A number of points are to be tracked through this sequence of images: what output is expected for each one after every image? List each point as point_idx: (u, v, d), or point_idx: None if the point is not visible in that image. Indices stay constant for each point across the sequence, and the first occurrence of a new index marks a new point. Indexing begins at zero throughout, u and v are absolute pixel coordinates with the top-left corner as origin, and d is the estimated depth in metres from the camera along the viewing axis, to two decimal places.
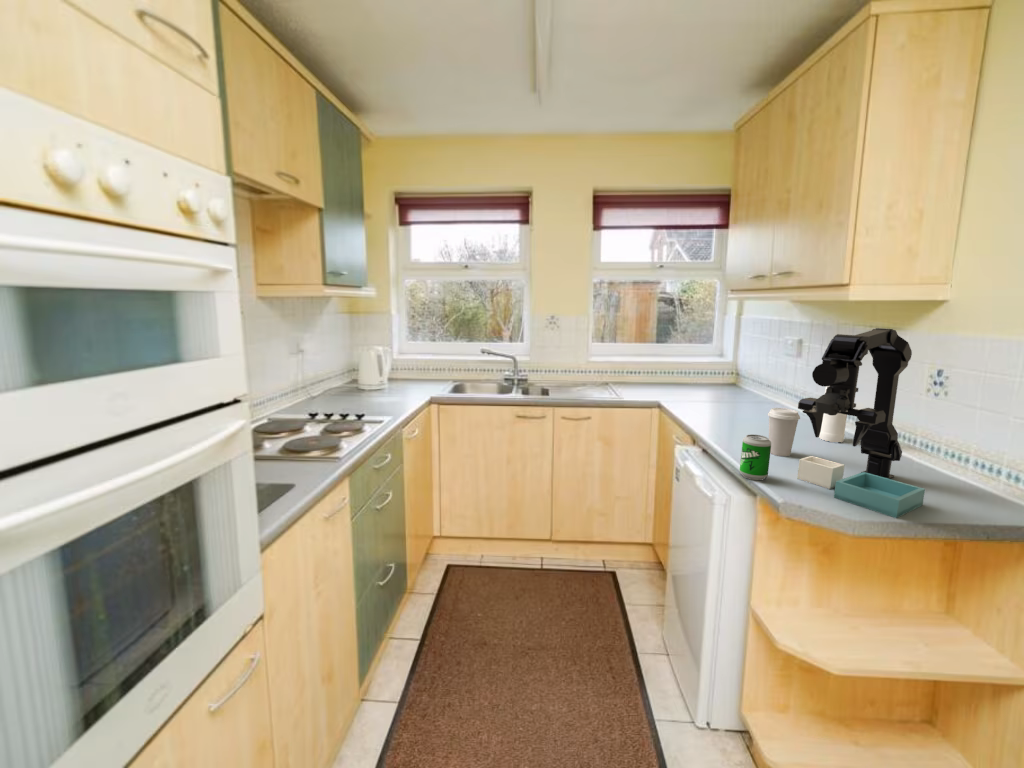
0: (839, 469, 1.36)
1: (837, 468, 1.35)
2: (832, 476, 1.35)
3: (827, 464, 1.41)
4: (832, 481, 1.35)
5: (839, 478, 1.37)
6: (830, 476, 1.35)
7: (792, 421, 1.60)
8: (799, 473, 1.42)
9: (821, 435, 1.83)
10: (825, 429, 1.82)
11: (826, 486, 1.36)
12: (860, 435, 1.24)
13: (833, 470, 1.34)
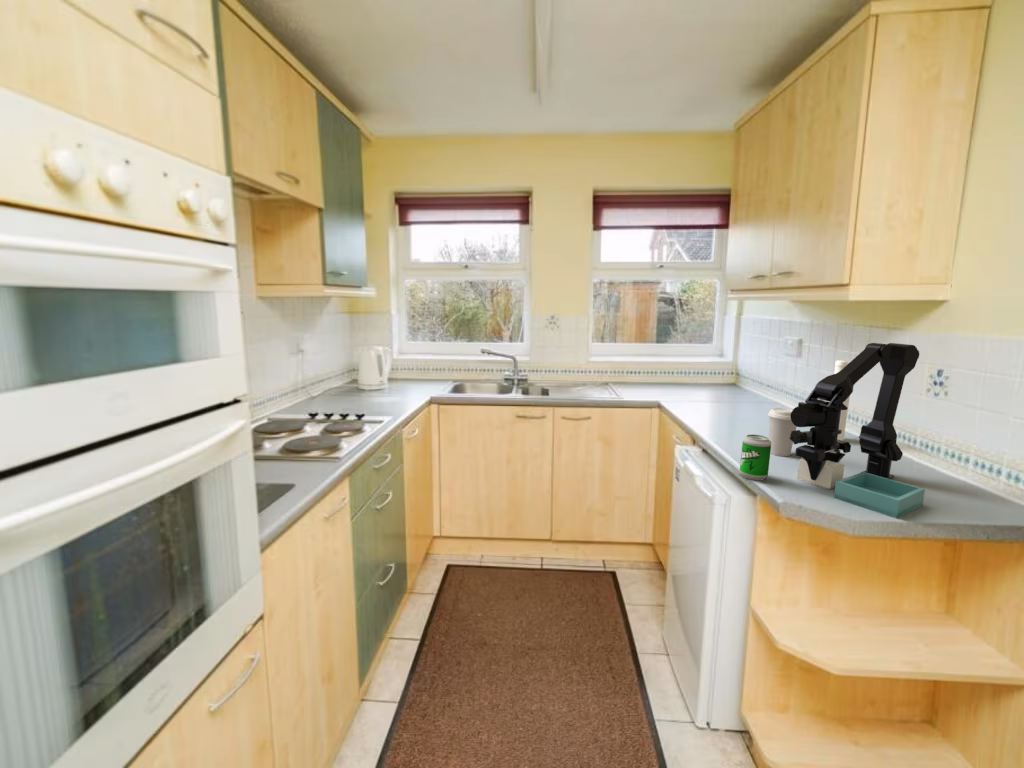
0: (839, 469, 1.36)
1: (837, 468, 1.35)
2: (832, 476, 1.35)
3: (827, 464, 1.41)
4: (832, 481, 1.35)
5: (839, 478, 1.37)
6: (830, 476, 1.35)
7: None
8: (799, 473, 1.42)
9: None
10: None
11: (826, 486, 1.36)
12: (811, 469, 1.38)
13: (833, 470, 1.34)
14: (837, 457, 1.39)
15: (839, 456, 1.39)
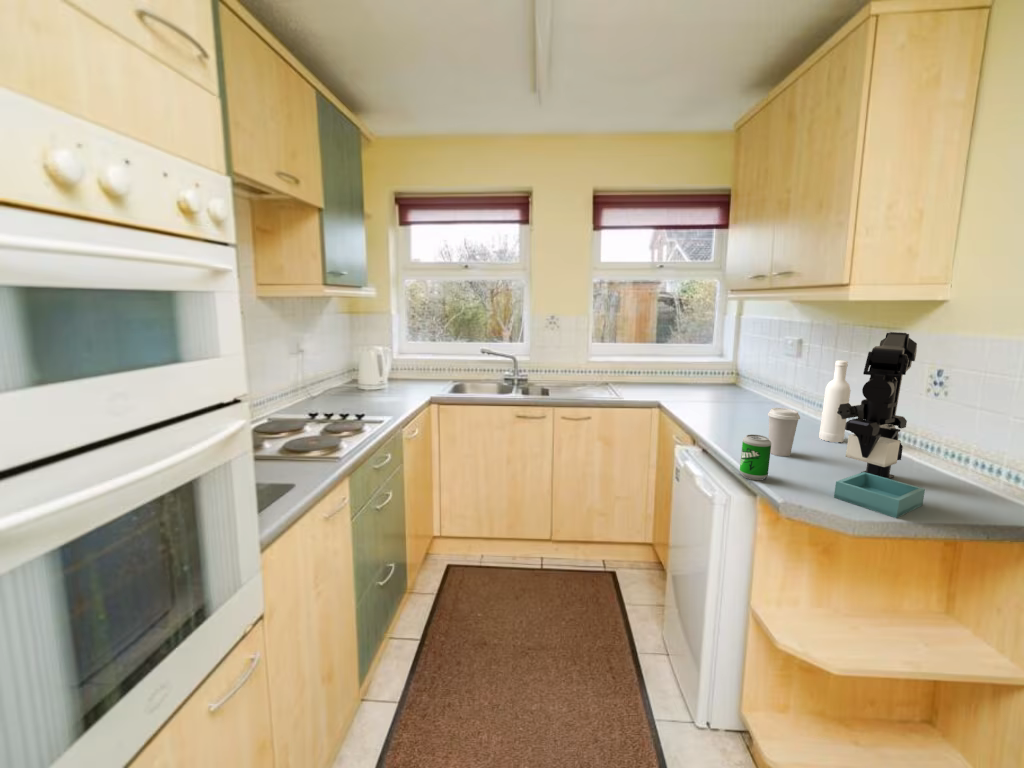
0: (894, 445, 1.24)
1: (892, 444, 1.23)
2: (887, 452, 1.22)
3: (880, 441, 1.28)
4: (887, 458, 1.23)
5: (894, 455, 1.24)
6: (884, 452, 1.22)
7: (792, 421, 1.60)
8: (848, 450, 1.30)
9: (821, 435, 1.83)
10: (825, 429, 1.82)
11: (880, 464, 1.23)
12: (862, 445, 1.25)
13: (888, 446, 1.22)
14: (891, 433, 1.27)
15: (894, 432, 1.26)
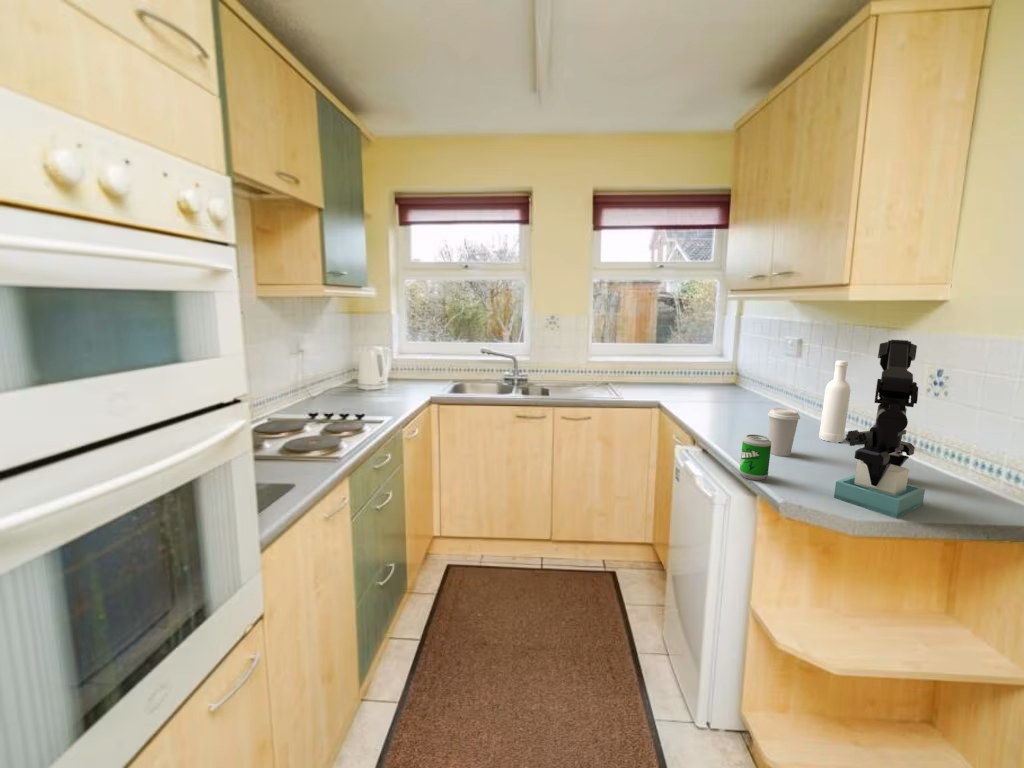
0: (904, 473, 1.23)
1: (902, 472, 1.22)
2: (897, 481, 1.21)
3: (888, 468, 1.27)
4: (897, 486, 1.22)
5: (903, 483, 1.23)
6: (894, 481, 1.21)
7: (792, 421, 1.60)
8: (857, 478, 1.28)
9: (821, 435, 1.83)
10: (825, 429, 1.82)
11: (890, 493, 1.22)
12: (871, 473, 1.24)
13: (898, 474, 1.21)
14: (900, 460, 1.26)
15: (902, 459, 1.25)
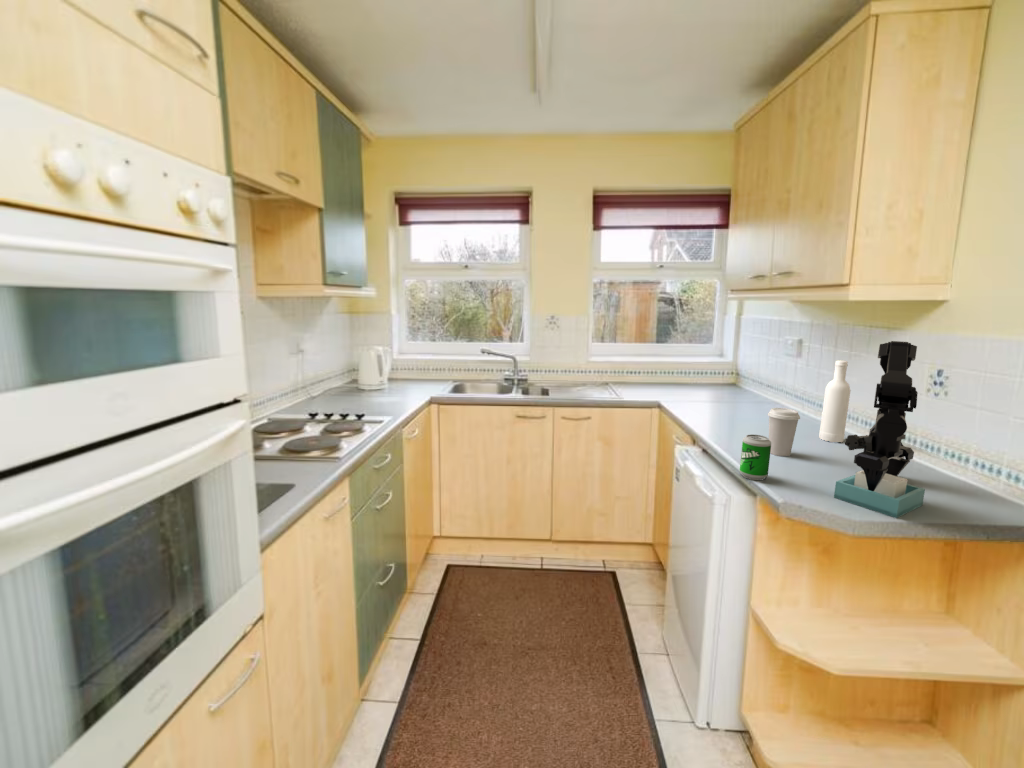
0: (902, 484, 1.23)
1: (900, 483, 1.22)
2: (895, 492, 1.22)
3: (886, 478, 1.27)
4: (895, 497, 1.22)
5: (902, 494, 1.24)
6: (893, 492, 1.22)
7: (792, 421, 1.60)
8: None
9: (821, 435, 1.83)
10: (825, 429, 1.82)
11: None
12: (868, 478, 1.24)
13: (896, 485, 1.21)
14: (901, 464, 1.27)
15: (904, 463, 1.26)
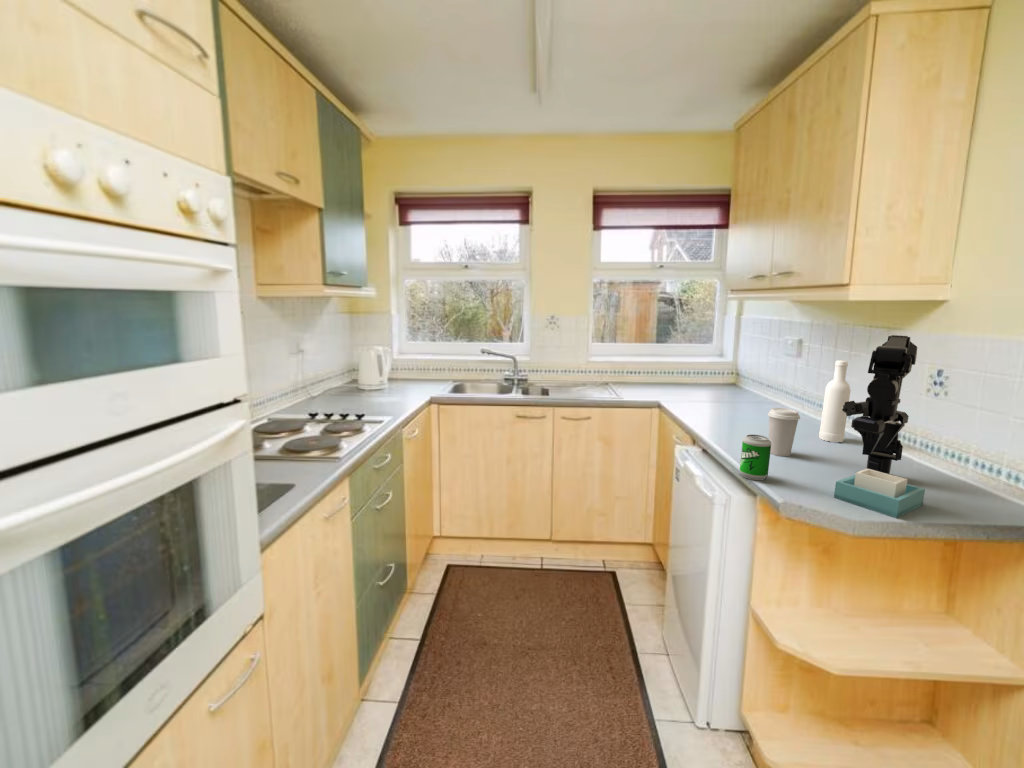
0: (902, 484, 1.23)
1: (900, 483, 1.22)
2: (895, 492, 1.22)
3: (886, 478, 1.27)
4: (895, 497, 1.22)
5: (902, 494, 1.24)
6: (893, 492, 1.22)
7: (792, 421, 1.60)
8: None
9: (821, 435, 1.83)
10: (825, 429, 1.82)
11: None
12: (865, 442, 1.29)
13: (896, 485, 1.21)
14: (896, 428, 1.32)
15: (899, 426, 1.31)
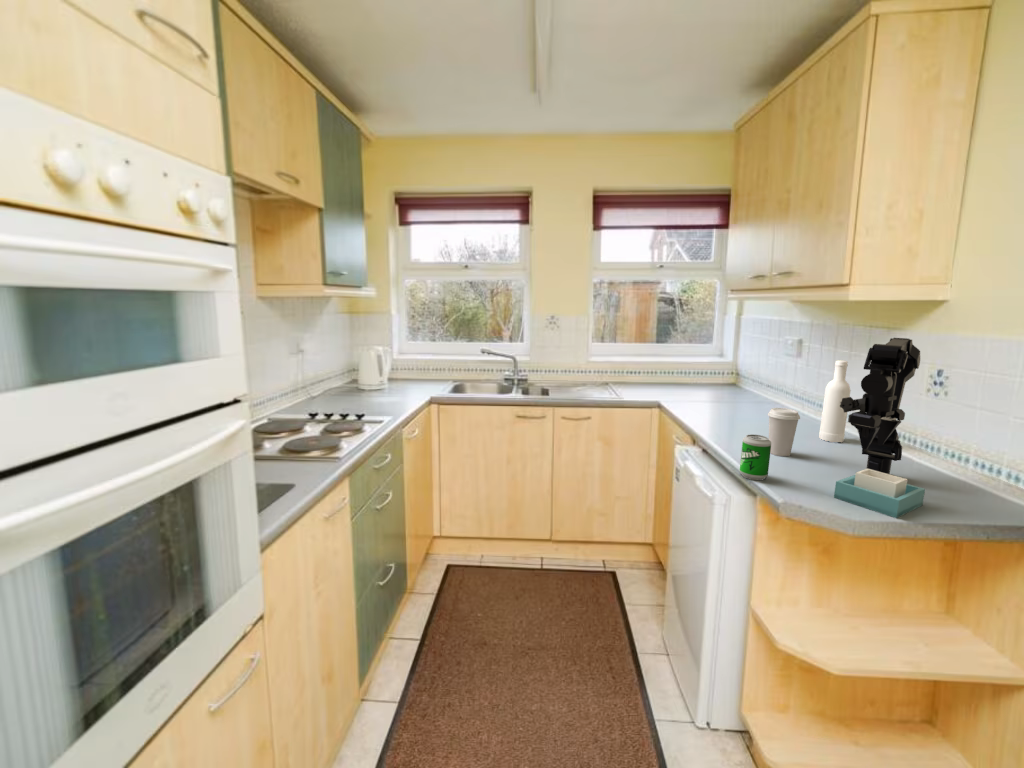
0: (902, 484, 1.23)
1: (900, 483, 1.22)
2: (895, 492, 1.22)
3: (886, 478, 1.27)
4: (895, 497, 1.22)
5: (902, 494, 1.24)
6: (893, 492, 1.22)
7: (792, 421, 1.60)
8: None
9: (821, 435, 1.83)
10: (825, 429, 1.82)
11: None
12: (862, 437, 1.31)
13: (896, 485, 1.21)
14: (893, 424, 1.34)
15: (895, 423, 1.34)
